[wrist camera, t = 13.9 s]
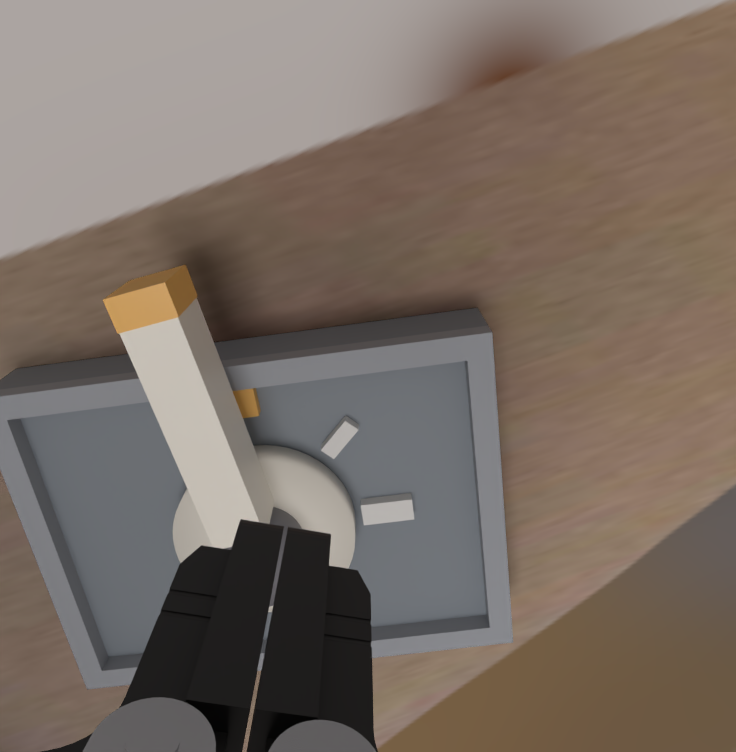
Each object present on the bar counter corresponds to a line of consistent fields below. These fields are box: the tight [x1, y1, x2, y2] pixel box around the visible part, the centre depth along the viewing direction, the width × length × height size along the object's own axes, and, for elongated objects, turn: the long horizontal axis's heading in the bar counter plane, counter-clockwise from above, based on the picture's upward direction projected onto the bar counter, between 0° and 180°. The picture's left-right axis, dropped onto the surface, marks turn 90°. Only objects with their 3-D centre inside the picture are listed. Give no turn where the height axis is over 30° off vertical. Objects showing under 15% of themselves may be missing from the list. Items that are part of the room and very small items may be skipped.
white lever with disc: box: [103, 265, 355, 612], centre depth 30 cm, size 18×9×4 cm, turn 15°
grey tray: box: [0, 308, 513, 689], centre depth 35 cm, size 18×24×4 cm
